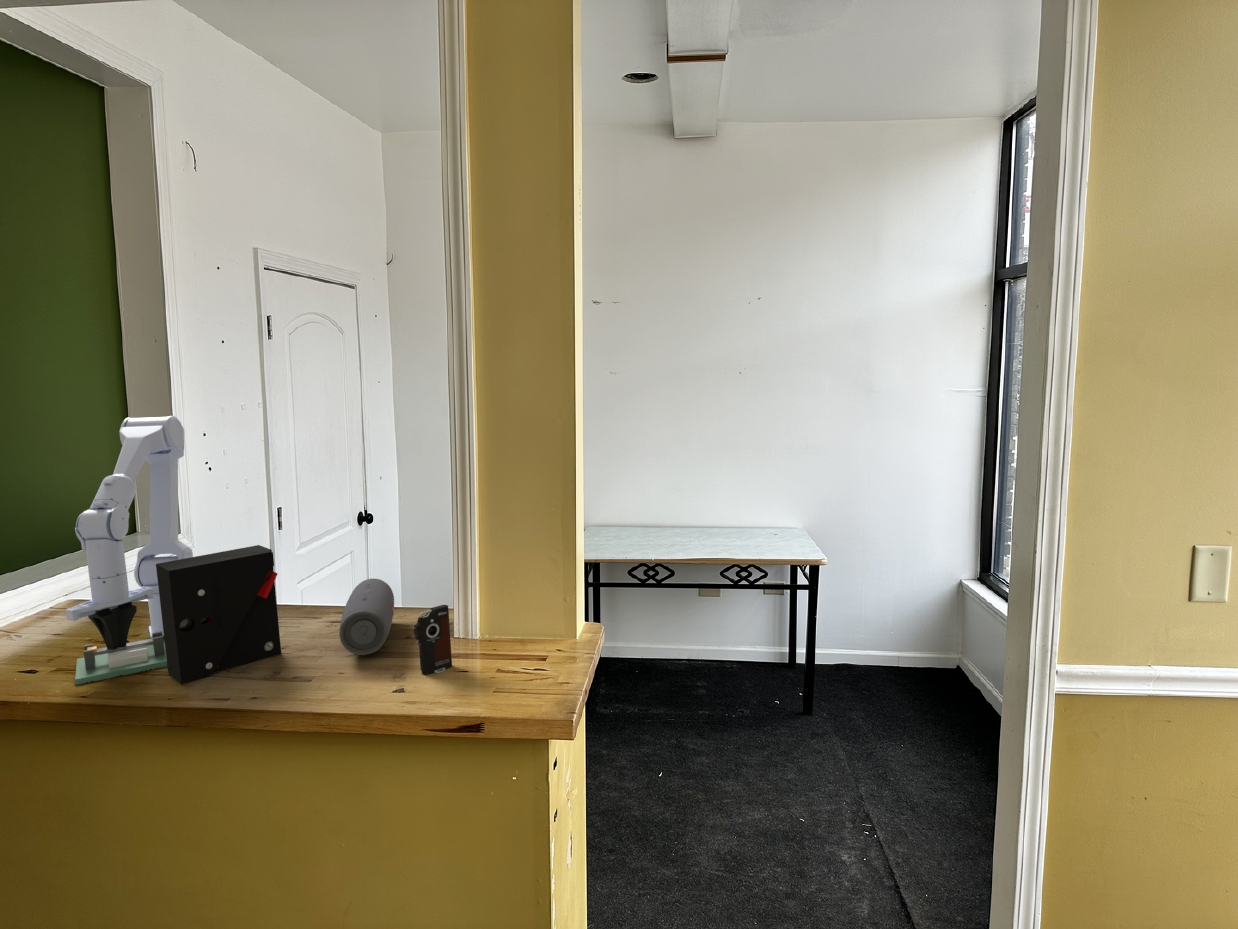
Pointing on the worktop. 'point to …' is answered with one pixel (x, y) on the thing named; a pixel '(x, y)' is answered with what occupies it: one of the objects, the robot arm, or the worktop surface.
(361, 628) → the bluetooth speaker
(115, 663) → the heatsink base
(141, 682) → the worktop surface
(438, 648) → the camera
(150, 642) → the bar
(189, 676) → the electrical component
